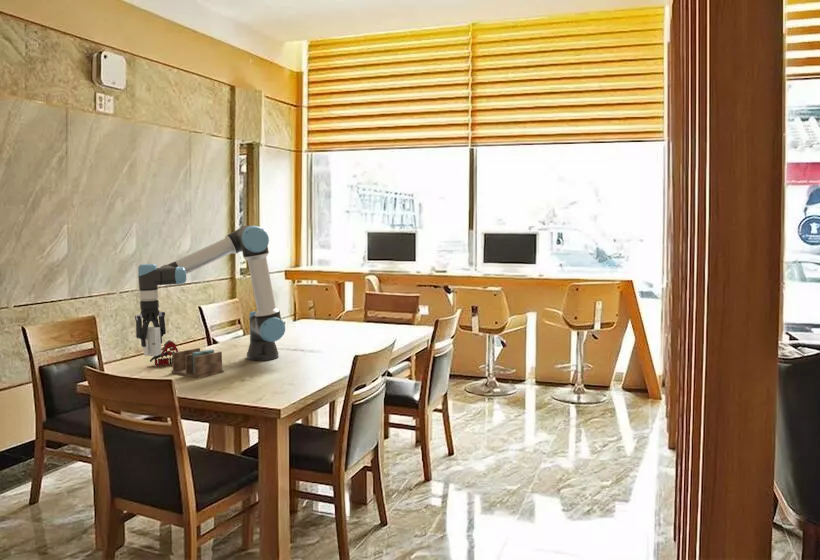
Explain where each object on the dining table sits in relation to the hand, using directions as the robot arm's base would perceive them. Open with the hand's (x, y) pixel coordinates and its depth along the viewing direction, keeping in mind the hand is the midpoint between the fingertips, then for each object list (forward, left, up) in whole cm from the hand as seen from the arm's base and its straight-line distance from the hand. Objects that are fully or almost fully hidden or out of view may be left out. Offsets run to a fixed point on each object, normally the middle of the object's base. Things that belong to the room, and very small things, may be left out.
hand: (152, 352), depth 308 cm
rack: (-14, +13, -10) cm, 21 cm away
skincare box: (0, 0, -1) cm, 1 cm away
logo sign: (-18, -12, -10) cm, 24 cm away
